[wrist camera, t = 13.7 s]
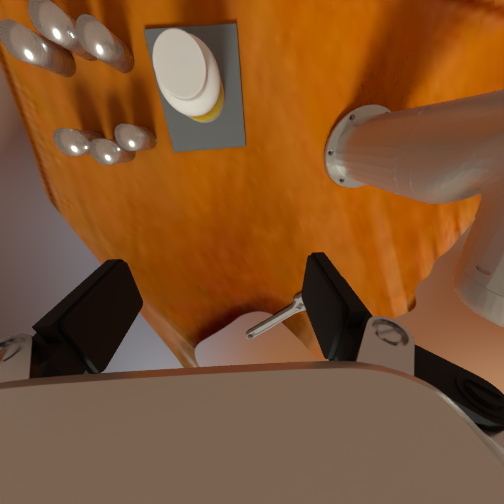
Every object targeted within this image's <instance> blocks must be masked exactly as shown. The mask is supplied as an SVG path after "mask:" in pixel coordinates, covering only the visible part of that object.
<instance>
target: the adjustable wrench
mask: <svg viewBox="0 0 504 504" xmlns="http://www.w3.org/2000/svg"><path fill="white" fill-rule="evenodd" d="M301 293H302V292H301ZM301 293H300V294H298V295H297V296H296V295H295V297H294V299H293V300H294V302H293V303H292V305H290V306H289V307H288V308H286V309H284V310H283V311H281V312H279V313H278V314H276V315H273V316H271V317H269V318H268V319H266V320H264V321H262V322H261V323H259V324H257V325H256V326H254V327H252V328H250V329H249V330H247V331H246V337H247V338H248V339H252V338H254V337H256V336H258V335H259V334H261V333H263V332H264V331H266V330H268V329H269V328H271V327H273V326H274V325H276V324H278V323H279V322H281V321H283V320H284V319H286V318H288V317H289V316H291V315H293V314H295V313H297V312H300V311H303V310H306V309H305V306H304V304H303V301H302V297H301Z"/></svg>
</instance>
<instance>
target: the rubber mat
mask: <svg viewBox="0 0 504 504" xmlns="http://www.w3.org/2000/svg"><path fill="white" fill-rule="evenodd" d="M173 28H177V29H181V30H183V31H185V32H187V33H189V34H192V35H194V36H196V37H198V38H199V39H200V40H201V41H203V42H204V43H205V44H206V46H207V47H208V48H209V49H210V51H211V52H212V54H213V56H214V58H215V60H216V63H217V66H218V69H219V73H220V77H221V81H222V85H223V89H224V106H223V109H222V112H221V113H220V115H219V116H218V117H217V118H216V119H215V120H213V121H211V122H208V123H201V122H198V121H195V120H193V119H192V118H190V117H188V116H186V115H184V114H182V113H181V112H179V111H177V110H176V109H175V108H173V107H172V106H171V105H170V104H169V102H168V101H167V100H166V99H165V97H164V95H163V94H162V92H161V90H160V87H159V85H158V82H157V78H156V73H155V70H154V66H153V47H154V44H155V41H156V39H157V38H158V36H159V35H160V34H161V33H162V32H163V31H165V30H167V29H171V28H158V29H143V30H144V34H145V38H146V42H147V46H148V50H149V54H150V58H151V62H152V66H153V70H154V74H155V78H156V82H157V86H158V90H159V94H160V98H161V102H162V106H163V110H164V114H165V118H166V122H167V126H168V130H169V134H170V138H171V142H172V146H173V150H174V152H182V151H194V150H206V149H218V148H230V147H243V146H246V143H245V130H244V117H243V104H242V91H241V77H240V64H239V51H238V38H237V25H236V23H232V24H217V25H203V26H188V27H173Z"/></svg>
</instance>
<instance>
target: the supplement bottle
mask: <svg viewBox="0 0 504 504" xmlns="http://www.w3.org/2000/svg"><path fill="white" fill-rule="evenodd" d="M153 66H154V70H155V73H156V78H157V82H158V85H159V87H160V90H161V92H162V94H163V95H164V97H165V99H166V100H167V101H168V102H169V104H170V105H171V106H172V107H173V108H175V109H176V110H177V111H179V112H181V113H182V114H184V115H186V116H188V117H190V118H192V119H193V120H195V121H198V122H201V123H208V122H211V121H213V120H215V119H216V118H217V117H218V116H219V115H220V113H221V112H222V109H223V106H224V89H223V85H222V81H221V77H220V73H219V69H218V66H217V63H216V60H215V58H214V56H213V54H212V52H211V51H210V49H209V48H208V47H207V46H206V44H205V43H204V42H203V41H201V40H200V39H199V38H198V37H196V36H194V35H192V34H189V33H187V32H185V31H183V30H181V29H177V28H171V29H167V30H165V31H163V32H162V33H161V34H160V35H159V36H158V38H157V39H156V41H155V44H154V47H153Z"/></svg>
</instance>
